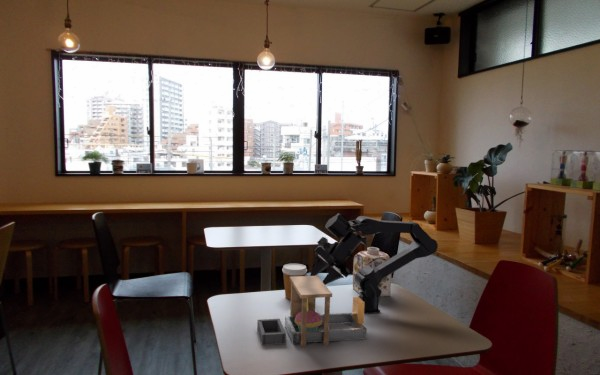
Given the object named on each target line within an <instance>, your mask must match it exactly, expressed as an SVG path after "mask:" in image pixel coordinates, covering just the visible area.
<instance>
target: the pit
mask: <svg viewBox="0 0 600 375" xmlns="http://www.w3.org/2000/svg"><path fill="white" fill-rule="evenodd" d="M256 324H257V326H256V327H257V328H256V329H257V333H258V336H259V340H260V343H261V346H266V345H281V344H282V345H283V344H287V343H286V342H287V340H286V338H287V332H286V331H285V328H284V326H283V324H282V321H281V319H280V318H267V319H266V318H264V319H257V323H256Z"/></svg>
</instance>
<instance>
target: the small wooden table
mask: <svg viewBox="0 0 600 375" xmlns="http://www.w3.org/2000/svg"><path fill="white" fill-rule="evenodd" d="M290 281H291V300H290V307H289V308H290V312H289V314H290V315H289V316H296V315H297V314H298V313H299V312H301V311H302V315H301V343H299V344H300V347H301V348H306V344H307V343H306V317H307V298H308V310H312V311H315V312H316V298H317V299H318V298H324V310H323V311H324V313H323V314H324V324H323V330H324V335H323V342H322V344H323V346H324V347H325V346H327V347H328V346H329V341H328V338H329V330H330V324H329V314H331V313H330V311H331V310H330V308H331V298H333V293H332V291H331V290H330V289H329V288H328V287H327V286H326V285H325V284H324V283H323V280H322V279H321V278H320V277H319V275H316V276H310V275H305V276H295V277H290Z"/></svg>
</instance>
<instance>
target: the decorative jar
mask: <svg viewBox="0 0 600 375" xmlns="http://www.w3.org/2000/svg"><path fill="white" fill-rule="evenodd" d="M390 258H391V257H390V256H389V254H387V253H385V252H384V251H381V250H380V248H378V247H374V246H369V247H367V249H366V250H361V251H359V252H358V253H356V254H355V255H354V257H353V262H352V263H353V265H352V267H353V268H352V270H353V271H352V289H353V290H354V291H355V292H356V293H358V294H359V295H360V292H362V291H361V290H360V289H359V287H358V286H357V285H356V284H355V281H354V278H355V274H356V273H357V272H359V271H358V270H360V269H363V268H364V267H365V266H367V265H369V266H370V267H371V268H374V267H377V266H378V265H380V264H382V263H383V262H385V261H387V260H388V259H390ZM377 287H378V288H379V289H380V290H381V291H382V293H381V295H380V297H389V296H391V291H392V290H391V288H392V273H391V274H390V275H388V276H386V277H385V278H383V279H382V281H381V282H380V284H379V285H378V286H377ZM380 297H379V298H380Z"/></svg>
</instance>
